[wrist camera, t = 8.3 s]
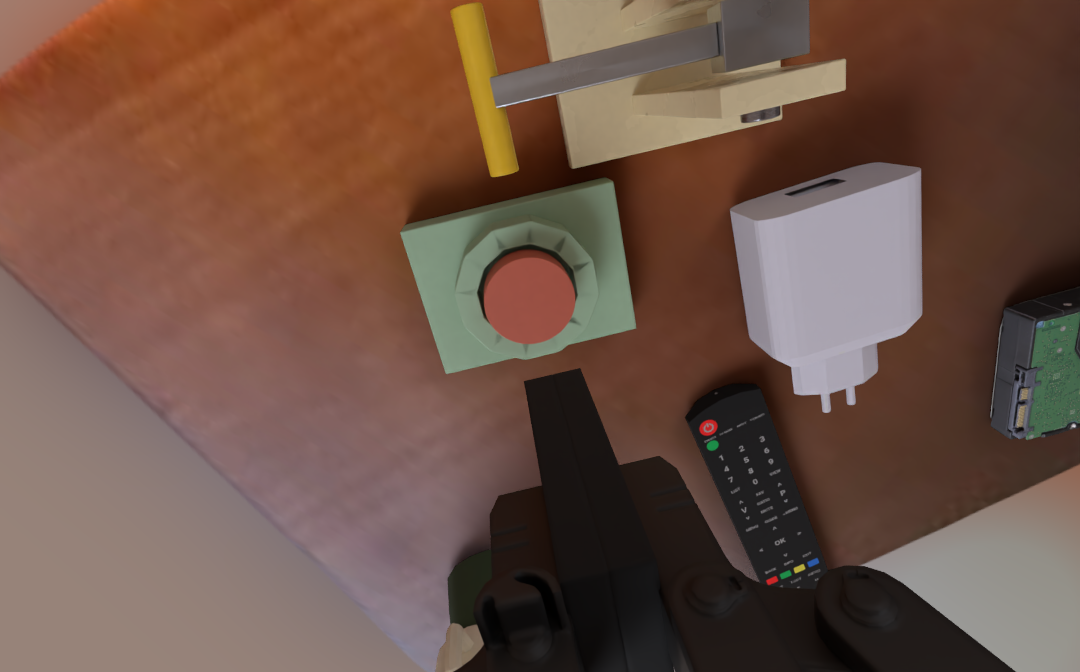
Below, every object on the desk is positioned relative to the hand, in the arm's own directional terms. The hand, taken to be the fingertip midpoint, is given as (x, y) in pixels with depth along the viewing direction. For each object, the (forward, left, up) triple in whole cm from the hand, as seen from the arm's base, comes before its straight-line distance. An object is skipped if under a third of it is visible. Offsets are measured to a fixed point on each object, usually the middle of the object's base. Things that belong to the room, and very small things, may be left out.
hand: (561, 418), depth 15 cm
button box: (0, +2, -20) cm, 20 cm away
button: (0, +2, -16) cm, 16 cm away
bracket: (-10, -8, -20) cm, 24 cm away
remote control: (-14, +25, -20) cm, 35 cm away
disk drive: (-39, +17, -20) cm, 47 cm away
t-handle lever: (-6, -8, -11) cm, 15 cm away
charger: (-18, +8, -20) cm, 28 cm away
